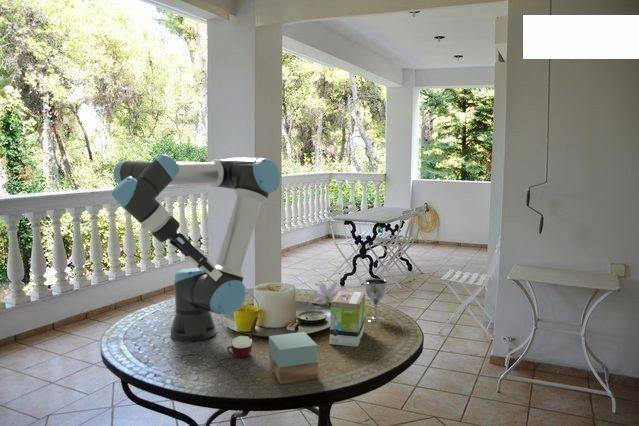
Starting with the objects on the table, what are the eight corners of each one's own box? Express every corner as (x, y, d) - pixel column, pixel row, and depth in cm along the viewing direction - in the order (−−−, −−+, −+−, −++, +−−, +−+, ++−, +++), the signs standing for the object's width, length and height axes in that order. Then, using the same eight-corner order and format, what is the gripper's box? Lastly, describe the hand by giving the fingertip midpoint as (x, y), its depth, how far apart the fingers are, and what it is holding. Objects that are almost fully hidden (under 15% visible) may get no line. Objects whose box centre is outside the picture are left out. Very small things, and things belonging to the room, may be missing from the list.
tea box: (359, 347, 166) (360, 303, 164) (328, 344, 168) (329, 301, 166) (364, 331, 181) (365, 291, 179) (336, 329, 183) (337, 289, 181)
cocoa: (226, 360, 156) (224, 322, 154) (231, 351, 162) (229, 315, 160) (257, 359, 155) (255, 322, 153) (260, 351, 161) (258, 315, 159)
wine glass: (389, 318, 195) (390, 280, 193) (380, 324, 188) (381, 285, 187) (370, 315, 199) (371, 277, 197) (361, 320, 193) (362, 281, 191)
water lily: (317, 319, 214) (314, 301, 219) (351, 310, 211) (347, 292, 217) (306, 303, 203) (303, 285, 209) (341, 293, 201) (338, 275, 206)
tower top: (268, 352, 149) (268, 336, 148) (304, 347, 153) (304, 331, 152) (279, 367, 139) (279, 349, 138) (317, 362, 143) (317, 344, 142)
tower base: (269, 368, 150) (269, 352, 149) (305, 363, 153) (305, 347, 153) (280, 384, 139) (280, 367, 139) (317, 378, 143) (318, 361, 143)
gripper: (142, 228, 153) (191, 273, 161) (160, 239, 131) (215, 291, 140) (161, 210, 155) (208, 256, 163) (181, 219, 133) (234, 271, 142)
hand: (211, 272), depth 152 cm, fingers open, 13 cm apart
